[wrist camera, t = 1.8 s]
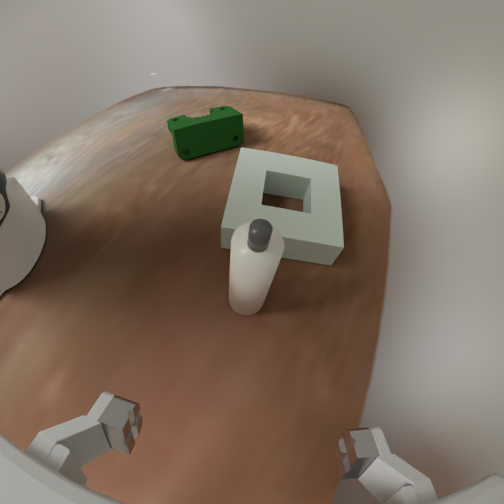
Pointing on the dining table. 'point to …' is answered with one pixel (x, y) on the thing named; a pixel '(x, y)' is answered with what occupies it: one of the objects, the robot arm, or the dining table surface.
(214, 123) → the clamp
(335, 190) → the housing
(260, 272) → the white bottle
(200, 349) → the dining table surface
